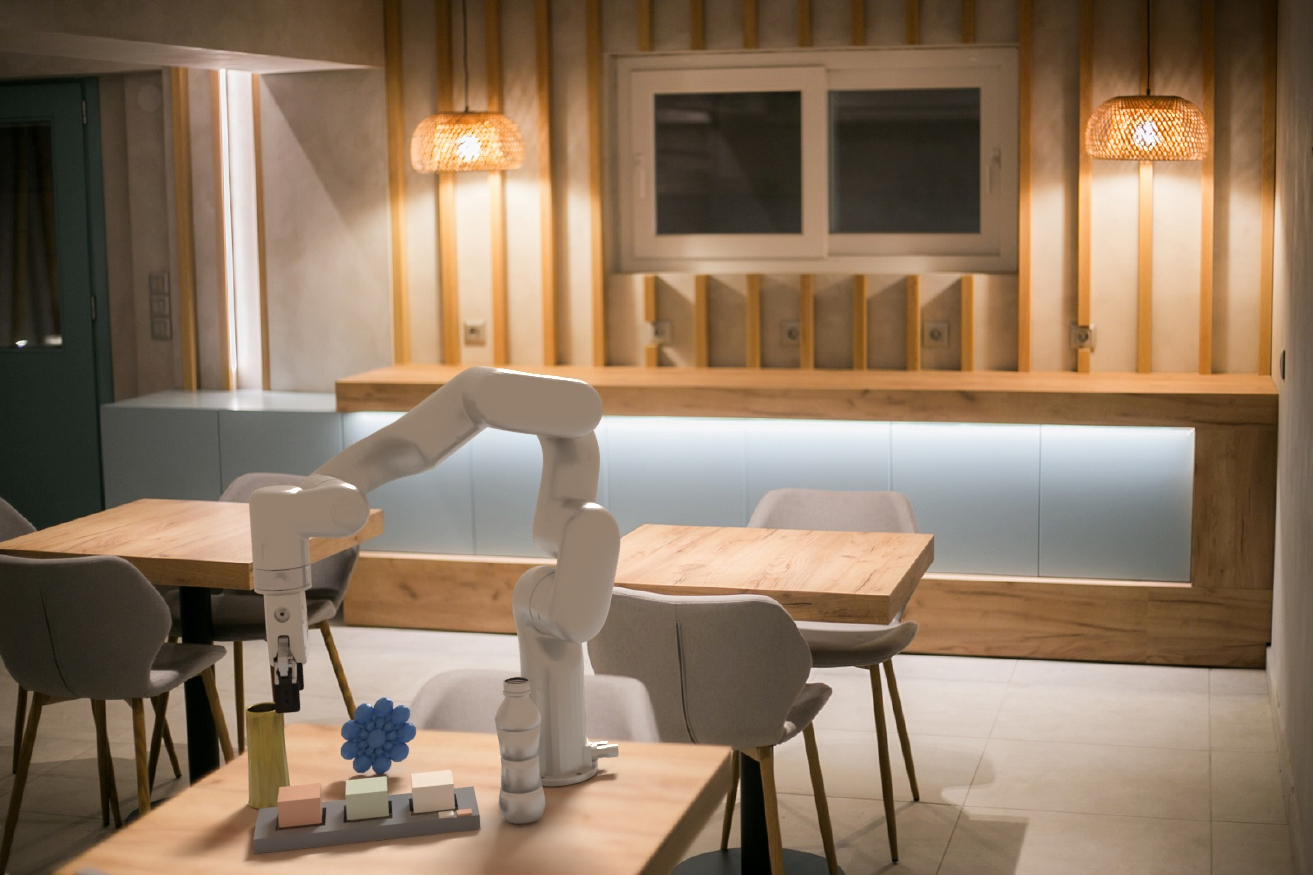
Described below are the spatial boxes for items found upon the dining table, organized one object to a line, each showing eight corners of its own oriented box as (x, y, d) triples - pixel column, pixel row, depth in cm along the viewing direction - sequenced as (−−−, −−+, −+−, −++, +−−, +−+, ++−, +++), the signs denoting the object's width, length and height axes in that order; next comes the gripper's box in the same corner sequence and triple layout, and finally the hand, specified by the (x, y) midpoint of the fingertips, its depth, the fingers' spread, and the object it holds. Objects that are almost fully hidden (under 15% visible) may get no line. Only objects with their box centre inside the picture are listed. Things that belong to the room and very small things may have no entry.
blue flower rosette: (421, 762, 224) (417, 687, 222) (416, 778, 217) (412, 701, 216) (346, 765, 223) (342, 690, 222) (339, 781, 217) (334, 704, 215)
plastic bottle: (510, 833, 195) (503, 690, 193) (492, 816, 201) (485, 678, 199) (554, 823, 198) (547, 682, 196) (534, 807, 204) (528, 670, 202)
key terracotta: (322, 807, 201) (320, 783, 200) (321, 823, 195) (319, 797, 195) (281, 812, 200) (279, 787, 199) (279, 827, 194) (277, 802, 194)
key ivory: (452, 794, 204) (451, 769, 204) (454, 808, 199) (453, 783, 198) (412, 798, 203) (411, 773, 203) (413, 813, 198) (412, 788, 197)
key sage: (388, 800, 202) (386, 776, 202) (388, 815, 197) (387, 790, 197) (347, 805, 201) (345, 780, 201) (347, 820, 196) (345, 795, 195)
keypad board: (474, 799, 208) (473, 784, 207) (480, 828, 197) (479, 812, 197) (259, 822, 202) (258, 806, 202) (254, 853, 191) (253, 837, 191)
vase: (280, 811, 206) (273, 714, 204) (240, 809, 207) (233, 713, 205) (299, 795, 212) (292, 701, 210) (260, 793, 213) (254, 700, 211)
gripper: (308, 590, 186) (315, 718, 188) (314, 562, 203) (320, 680, 205) (248, 594, 184) (256, 723, 187) (259, 566, 201) (266, 685, 203)
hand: (290, 701), depth 196 cm, fingers open, 9 cm apart
